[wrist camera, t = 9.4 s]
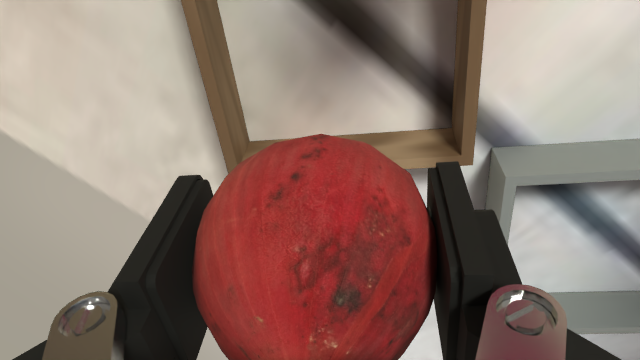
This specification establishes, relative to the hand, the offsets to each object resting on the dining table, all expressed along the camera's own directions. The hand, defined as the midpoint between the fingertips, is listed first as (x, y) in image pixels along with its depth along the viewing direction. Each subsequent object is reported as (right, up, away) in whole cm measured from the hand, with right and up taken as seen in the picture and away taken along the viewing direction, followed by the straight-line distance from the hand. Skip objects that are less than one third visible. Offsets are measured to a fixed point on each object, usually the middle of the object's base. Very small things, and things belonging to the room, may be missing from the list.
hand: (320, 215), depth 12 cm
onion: (0, +1, +2) cm, 2 cm away
